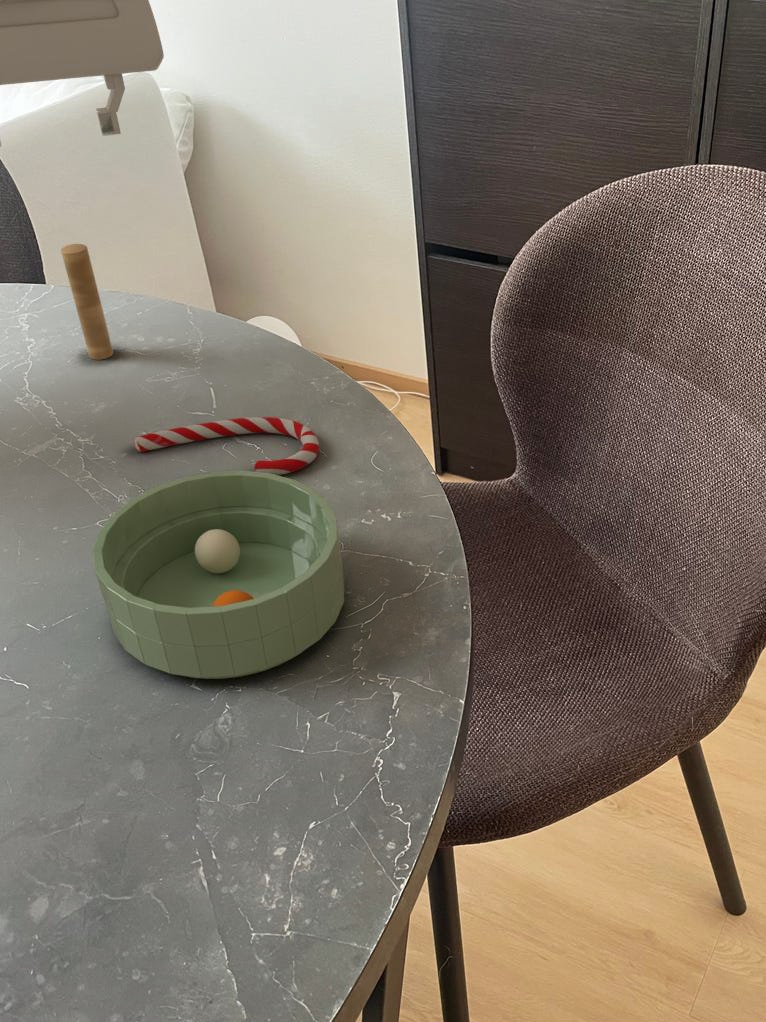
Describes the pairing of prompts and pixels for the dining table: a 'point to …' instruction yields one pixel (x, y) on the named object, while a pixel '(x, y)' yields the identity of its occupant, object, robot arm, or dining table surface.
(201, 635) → the bowl
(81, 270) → the stirring stick
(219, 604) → the orange ball
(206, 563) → the cream ball
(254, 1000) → the dining table surface
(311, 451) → the candy cane
